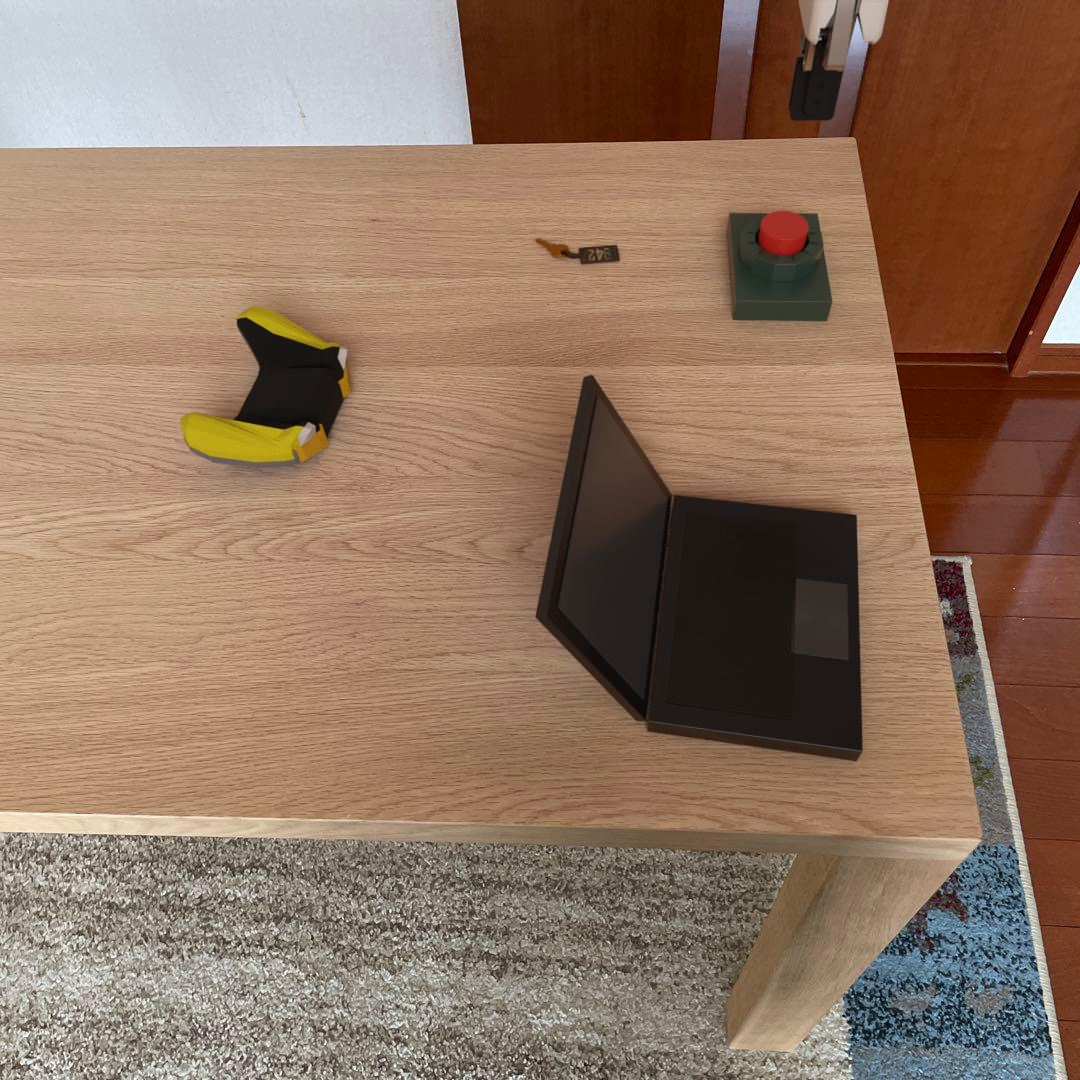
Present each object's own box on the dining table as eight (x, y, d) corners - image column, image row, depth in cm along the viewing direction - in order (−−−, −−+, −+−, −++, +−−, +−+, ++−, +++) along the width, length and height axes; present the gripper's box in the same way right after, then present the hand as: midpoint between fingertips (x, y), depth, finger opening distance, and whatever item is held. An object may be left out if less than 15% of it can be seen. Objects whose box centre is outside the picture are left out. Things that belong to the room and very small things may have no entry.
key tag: (622, 246, 87) (622, 241, 86) (618, 267, 85) (618, 262, 84) (535, 239, 88) (535, 234, 87) (530, 260, 86) (529, 254, 86)
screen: (594, 373, 59) (583, 376, 60) (547, 615, 49) (534, 617, 50) (673, 494, 68) (663, 496, 68) (648, 721, 58) (636, 722, 58)
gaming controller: (190, 478, 73) (310, 494, 71) (164, 431, 68) (292, 448, 67) (260, 345, 81) (369, 358, 80) (241, 295, 77) (356, 308, 75)
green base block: (726, 232, 87) (731, 195, 84) (813, 233, 87) (821, 195, 83) (732, 320, 80) (739, 283, 77) (827, 321, 80) (837, 284, 77)
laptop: (851, 527, 68) (857, 513, 66) (856, 761, 58) (863, 751, 56) (672, 507, 69) (673, 493, 68) (646, 731, 59) (648, 720, 58)
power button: (756, 227, 82) (759, 210, 80) (802, 227, 82) (806, 210, 80) (759, 256, 80) (762, 239, 78) (807, 257, 79) (811, 240, 78)
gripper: (956, -129, 51) (874, 172, 66) (911, -223, 60) (848, 63, 75) (816, -125, 52) (766, 173, 67) (792, -218, 60) (753, 64, 75)
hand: (810, 114), depth 70 cm, fingers closed
